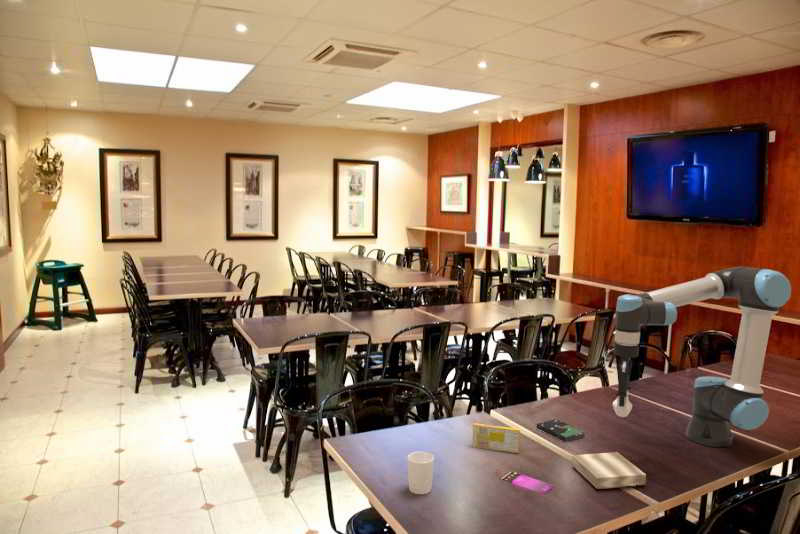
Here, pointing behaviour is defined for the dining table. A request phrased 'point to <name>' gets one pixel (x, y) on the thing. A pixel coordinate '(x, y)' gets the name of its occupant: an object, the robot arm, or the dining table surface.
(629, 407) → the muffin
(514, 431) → the candy box
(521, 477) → the smartphone
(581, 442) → the dining table surface
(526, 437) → the dining table surface
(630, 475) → the beige satin panel
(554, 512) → the dining table surface
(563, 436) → the disk drive
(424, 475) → the white cup
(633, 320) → the robot arm
